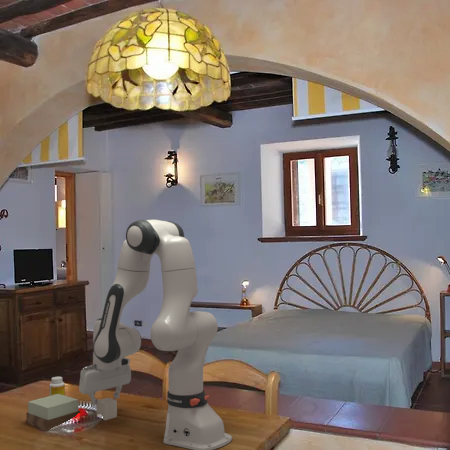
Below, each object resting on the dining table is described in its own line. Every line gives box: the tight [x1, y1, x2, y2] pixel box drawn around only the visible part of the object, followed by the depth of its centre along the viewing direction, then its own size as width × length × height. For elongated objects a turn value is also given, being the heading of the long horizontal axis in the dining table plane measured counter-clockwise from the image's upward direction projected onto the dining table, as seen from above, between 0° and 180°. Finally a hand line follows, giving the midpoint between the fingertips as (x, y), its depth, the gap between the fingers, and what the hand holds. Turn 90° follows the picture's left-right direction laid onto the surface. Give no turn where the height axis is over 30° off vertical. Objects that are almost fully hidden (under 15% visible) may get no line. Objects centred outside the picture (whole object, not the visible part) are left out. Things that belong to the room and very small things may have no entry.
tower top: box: [27, 394, 79, 420], centre depth 196 cm, size 12×12×4 cm
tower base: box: [26, 410, 81, 432], centre depth 196 cm, size 13×13×4 cm
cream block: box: [96, 397, 118, 421], centre depth 201 cm, size 5×5×6 cm
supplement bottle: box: [48, 376, 66, 396], centre depth 217 cm, size 6×6×10 cm
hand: (105, 401), depth 201 cm, fingers open, 8 cm apart
